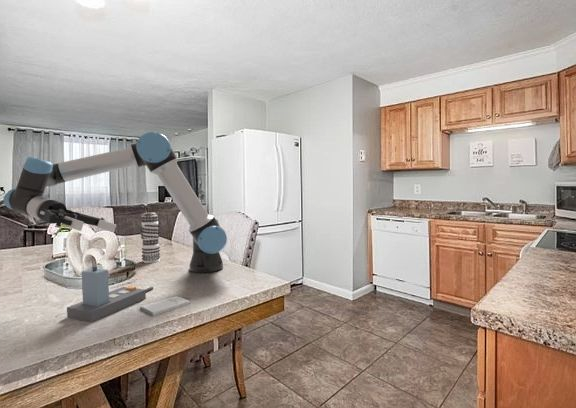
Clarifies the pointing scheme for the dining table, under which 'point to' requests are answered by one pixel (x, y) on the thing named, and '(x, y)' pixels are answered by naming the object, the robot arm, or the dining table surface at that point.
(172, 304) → the external hard drive
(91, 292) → the block
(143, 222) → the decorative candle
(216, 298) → the dining table surface
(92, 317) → the power strip
